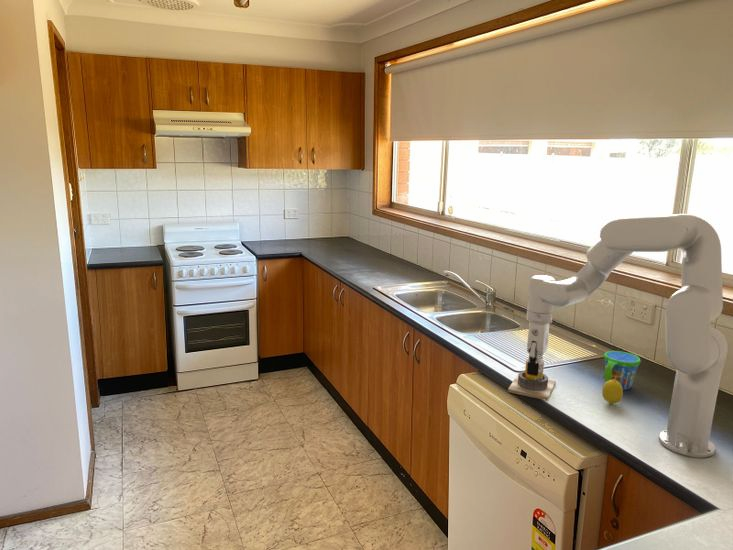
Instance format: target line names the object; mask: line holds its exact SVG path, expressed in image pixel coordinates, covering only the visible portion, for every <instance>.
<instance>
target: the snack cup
mask: <svg viewBox="0 0 733 550" xmlns="http://www.w3.org/2000/svg"><path fill="white" fill-rule="evenodd" d="M603 359H604V368H605V369H604V370H605V371H604V374H603V379H604V380H605V383H606V382H607V381H609V380H613V379H615V380H616V381H618V382H619V383H620V384H621V385H622V388H623V391H627V390H630V389H631V388H632V386H633V382H634V379H635V377H636V374H637V370H638V367H639V366H640V364H641V363H642V360H641V358H640V357H639V356H638V355H636V354H633V353H630V352H625V351H620V350H608V351H606V352H605V353H604V354H603Z"/></svg>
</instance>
